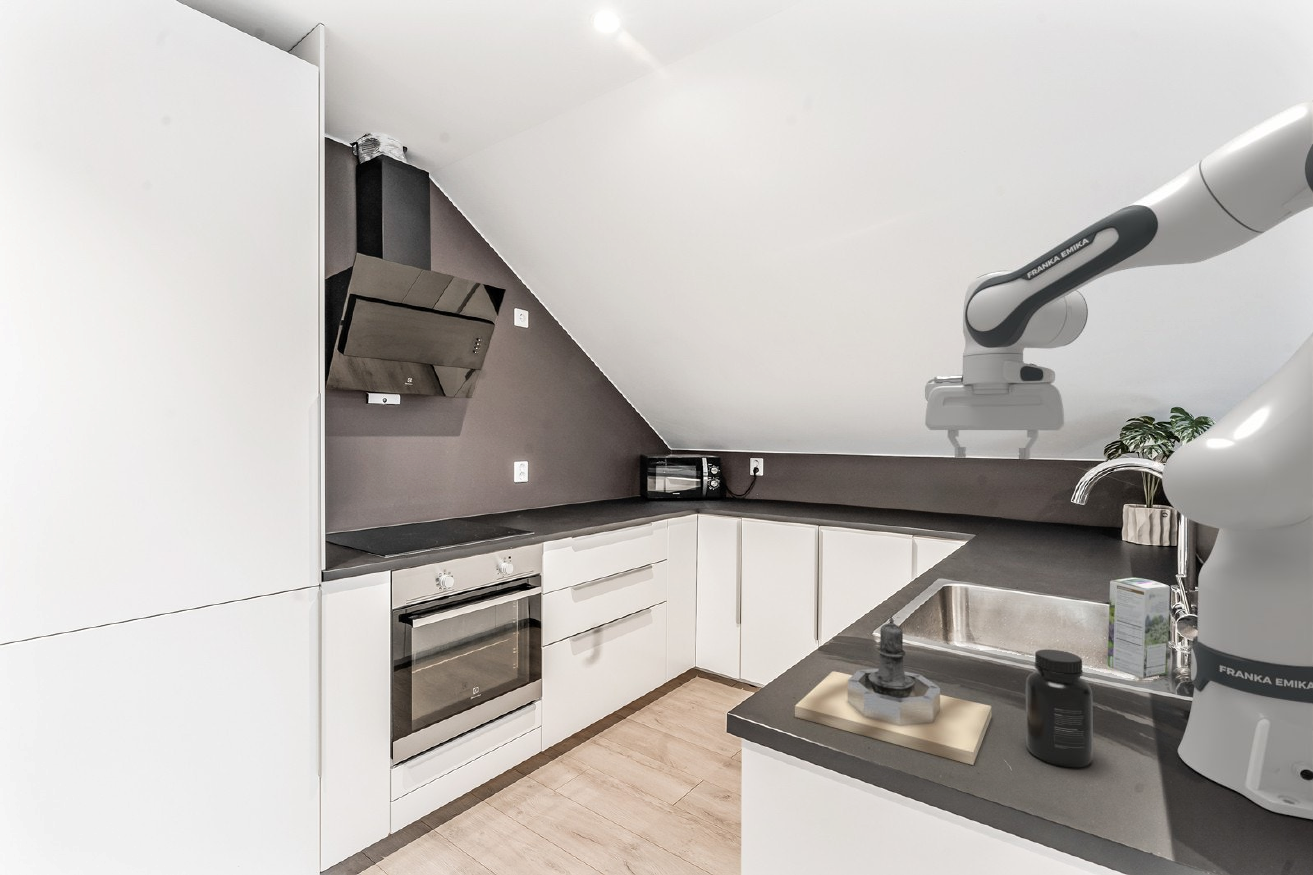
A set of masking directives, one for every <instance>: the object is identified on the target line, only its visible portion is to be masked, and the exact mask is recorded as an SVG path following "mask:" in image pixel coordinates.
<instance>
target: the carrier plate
mask: <svg viewBox="0 0 1313 875" xmlns="http://www.w3.org/2000/svg"><path fill="white" fill-rule="evenodd" d="M853 675H854V674H853ZM853 675H852V674H847V673H844V672H838V671H834V670H833V671H831V672H830V673H829V674H828V675H827V676H826V677H824V679H823V680H821V682H819V683H818V684H817V685H816V686H815V687H813V689H812V690H811V691H809V692H808V693H807V694H806V695H805V696H804V697H803V698H802V699H801V700H800V701H798V702H797V703H796V704H795V705H794V717H795V718H798V719H802V720H805V721H810V722H812V723H817V724H820V725H824V726H828V727H832V728H835V729H839V730H842V731H846V732H850V733H853V734H857V735H861V736H864V737H869V738H873V739H876V740H879V741H883V742H886V743H890V744H894V745H896V746H902V747H905V748H908V749H912V750H915V751H919V752H923V753H927V754H931V755H934V756H938V757H941V758H945V759H949V760H952V761H957V762H960V763H963V764H967V765H972V766H974V764H975V762H976V759H977V756H978V754H979V750H981V749H980V748H981V746H982V743H983V740H984V737H985V735H986V733H987V729H988V727H989V724H990V722H991V721H992V720H991V719H992V716H993V715H992V713H993V712H992V709H993V707H992V705H988V704H984V703H979V702H975V701H970V700H966V699H961V698H956V697H951V696H948V695H944V694H940V711H939V713H938V715H937V716H936V718H935V720H934V722H933V723H927V724H917V725H906V726H898V725H894V724H890V723H886V722H882V721H878V720H874V719H871V718H867V717H864V716H862V715H861V714H860V713H859V712H858V711H857V710H856V709H855V708H854V707H852V706H851V705H850V704H849V703H848V680H849V679H850V678H851V677H852V676H853ZM907 698H908V697H907Z"/></svg>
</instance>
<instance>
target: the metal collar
mask: <svg viewBox="0 0 1313 875" xmlns="http://www.w3.org/2000/svg"><path fill="white" fill-rule="evenodd" d="M878 669H879V668H869V669H857V671H855V673H853V676H852V677H851V678H850V679H849V680H848V703H849V704H850V705H851V706H852V707H854V708H855V709H856V710H857V711H858V712H859V713H860V714H861V715H862V716H864V717H867V718H871V719H874V720H878V721H882V722H886V723H890V724H894V725H898V726H906V725H917V724H927V723H933V722H934V720H935V718H936V716H937V715H938V713H939V711H940V695H941V687H940V686H938V685H937V684H936V683H934V682H932V681H931V680H930V679H928V678H926V677H924V676H923V675H922V674H918V673H915V672H909V671H905V670H904V673H905V675H907V676H909V677H910V678H912V679H913V680H914V685H913V687H912V691H911V693H910V695H909V696H908V698H895V697H891V696H886V695H882V694H878V693H875V692H874V691H873V689H872V686H871V681H870V680H869V675H870V674H871V673H873V672H877V671H878Z"/></svg>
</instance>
